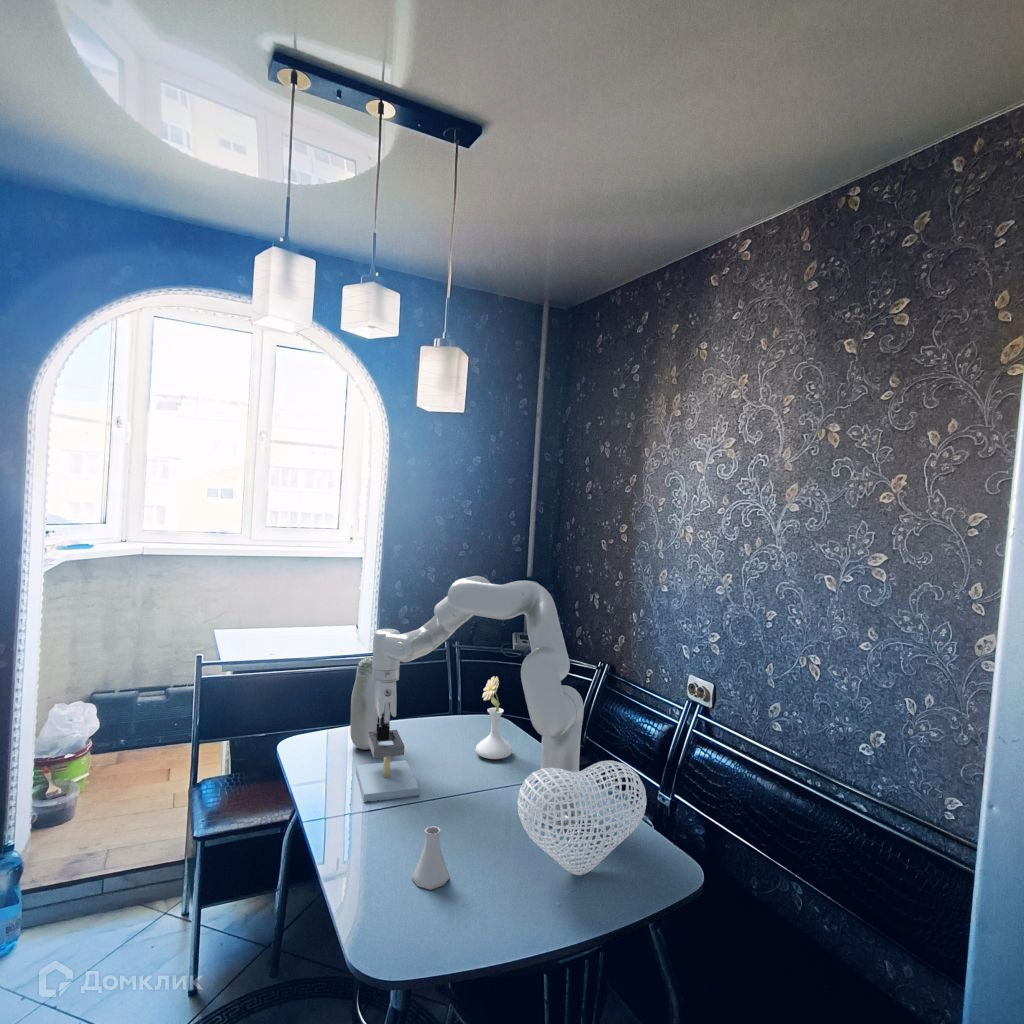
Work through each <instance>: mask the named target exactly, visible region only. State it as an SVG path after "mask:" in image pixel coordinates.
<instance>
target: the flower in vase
mask: <svg viewBox="0 0 1024 1024" xmlns="http://www.w3.org/2000/svg"><path fill="white" fill-rule="evenodd" d="M499 684H500V680H499V677H498V676H497V675H496V676H495V675H493V676H492V677H490V679H488V680H487V682H486V684H485V687H484V688H483V693H482V697H481V698H483V701H490V702H491V703H492V705H493V706H494V707H490V708H487V709H486V710H487V713H488V714H489V716H490V722H491V727H490V733H489V734H488V736H486V737H485V738H483V739H482V740H480V742H478V743H477V745H476V747H475V752H476V754H477V755H478V756H480V757H482V758H485V759H490V760H500V759H501V760H502V759H505V758H508V757H509V756H511V755H512V753H513V747H512V745H511V744H510V743H509V741H507V740H506V739H505V738H504V737H502V736H501V735H500V732H499V731H500V730H499V726H500V719H501V716H502V714H503V713H504V711H505V710H504V709H503V708H501V707H500V705H501V703H500V702H499V697H498V694H497V691H498V688H499ZM494 695H495V696H494ZM495 697H496V698H495Z"/></svg>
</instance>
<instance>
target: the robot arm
mask: <svg viewBox="0 0 1024 1024" xmlns="http://www.w3.org/2000/svg"><path fill="white" fill-rule="evenodd" d="M433 613H434V615H433V617H432V618H431V619H430V620H428V621H427V622H425V623H424V624H423V625H422V626H421V627H419V628H418V629H417V628H416V629H414V630H412V631H408V632H404V633H401V632H400V631H399V630H398V629H394V628H379V629H377V630H376V631H374V635H373V641H372V642H373V646H372V647H373V648H372V657H373V663H372V680H373V681H375V710H376V713H377V715H378V716H377V723H378V724H377V731H378V734H377V740H378V741H383V742H386V741H385V740H389V730H391V728H390V726H391V724H390V721H391V716H392V717H393V718H396V716H397V681H399V680H400V664H401V662H402V663H408V662H411V661H414V660H416V659H418V658H421V657H424V656H426V655H428V654H429V653H432V651H434V650H436V649H437V648H439V646H441V645H442V644H443V643H445V642H446V641H447V640H449V638H450V637H451V636H452V635H453V634H454V633H455V632H456V630H457V629H458V628H460V627H461V626H462V625H464V624H465V622H467V621H469V620H470V619H471V618H472V617H473V616H477V617H484V618H490V619H496V620H510V619H514V618H515V617H518V616H520V615H521V616H522V615H524V616H525V617H526V630H527V631H526V632H527V636H528V637H527V638H528V640H529V644H530V652H529V653H528V654H527V655H526V657H524V659H523V661H522V664H521V668H520V679H521V680H520V681H521V684H522V689H523V693H524V698H525V703H526V705H527V710H528V714H529V718H530V722H531V724H532V727H533V728H534V729H535V732H537V734H539V735H540V736H541V747H540V749H541V751H540V769H542V768H558V769H563V770H567V771H571V772H579V771H580V754H581V753H580V752H581V751H580V750H581V736H582V726H583V721H584V713H585V710H584V709H585V707H584V702H583V697H582V696H581V694H580V693H579V692H578V690H577V689H576V688H575V687H574V688H573V686H569V685H566V684H565V685H562V681H563V680H564V679H565V678H566V677H567V676H568V674H569V672H570V667H571V666H570V665H571V662H570V657H569V654H568V651H567V647H566V642H565V638H564V636H563V631H562V628H561V622H560V618H559V615H558V610H557V607H556V603H555V601H554V598H553V597H552V595H551V593H549V591H548V590H547V589H546V588H545V587H544V586H542V585H541V584H540V583H539V584H538V583H537V582H534V581H531V580H516V581H511V582H508V583H504V584H497V583H491V581H490V580H489V579H487V578H485V577H483V576H480V575H473V576H468V577H463V578H459V579H457V580H455V581H454V582H453V583H452V584H451V585H450V587H449V588H448V591H447V596H445V597H444V598H442V599H441V600H440V601H439V602H438V603H436V605H435V606H434V609H433ZM549 772H552V771H549ZM559 774H561V773H559ZM549 775H551V774H549ZM546 776H547V775H544V776H542V777H546ZM574 776H575V775H574ZM577 777H578V776H577ZM552 778H553V777H552ZM558 778H559V776H555V777H554V779H558ZM562 778H563V777H562ZM572 779H574V778H572ZM548 781H550V780H548V779H547V782H548ZM561 781H562V780H561ZM566 781H569V780H566ZM543 782H544V783H545V780H544V781H543ZM573 783H574V782H573ZM540 784H541V783H540ZM559 784H562V783H560V782H559ZM575 784H577V782H575ZM547 785H551V783H549V784H547ZM554 785H555V784H554V782H553V784H552V786H554ZM572 786H573V785H570V787H572ZM540 787H541V786H540ZM560 787H562V786H560ZM564 787H566V785H564ZM549 788H550V787H549ZM576 789H577V790H578V786H577V787H576ZM543 790H544V787H542V788H541V789H540V790H539V792H543ZM546 790H547V789H546V788H545V791H546ZM564 790H568V789H564ZM564 790H563V791H564ZM570 790H573V788H572V789H570ZM551 791H552V792H553V793H554V794H555V791H556V788H553V789H551ZM558 792H560V790H559V789H557V793H558ZM546 793H549V791H548V792H546ZM572 793H573V792H572ZM564 794H565V795H567V792H565V793H564ZM569 794H570V792H569ZM540 795H541V794H540ZM558 795H561V794H558ZM548 797H549V795H545V794H544V798H545V799H546V800H547V799H548ZM550 797H551V795H550ZM556 797H557V798H558V800H559V801H561V797H559V796H556ZM554 798H555V797H553V798H551V799H550V801H549V802H554ZM571 798H572V797H571V796H569V799H571ZM575 798H578V796H577V794H576V795H575ZM562 800H565V798H564V797H562ZM539 801H542V798H540V800H539ZM557 802H558V801H557V800H556V803H557ZM565 802H566V801H565ZM569 802H570V801H569ZM543 804H544V803H543ZM551 805H552V806H553V805H554V804H551ZM569 805H570V808H574V803H570V804H569ZM547 806H548V804H545V806H544V808H543V810H544V811H547ZM576 806H577V808H579V807H580V804H578V802H576ZM538 807H539V808H541V807H542V803H538ZM562 807H563V809H567V804H562ZM533 808H534V806H533ZM550 808H551V806H550V805H549V810H550ZM535 809H536V808H535ZM555 809H556V810H557V811H558V810H560V805H559V804H557V805H556V806H555ZM553 810H554V809H553V808H552V810H551V811H553ZM532 812H533V810H532ZM535 812H536V811H534V815H533V816H535ZM549 814H551V815H553V813H549ZM538 815H539V812H537V818H538ZM555 815H556V813H555ZM580 815H581V810H577V816H580ZM546 816H547V815H546V814H544V813H543V815H542V819H543V820H546ZM574 816H575V810H574V811H571V817H574ZM557 817H561V815H560V812H558V813H557ZM540 818H541V815H540ZM564 818H568V812H564ZM578 818H581V817H578ZM548 820H553V818H552V817H550V816H549V819H548ZM578 822H579V823H580V822H581V820H578ZM548 823H551V824H553V823H554V821H552V822H548ZM572 824H575V820H571V825H572ZM556 825H558V826H561V820H559V821H556ZM566 825H569V820H564V822H563V826H566Z"/></svg>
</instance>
